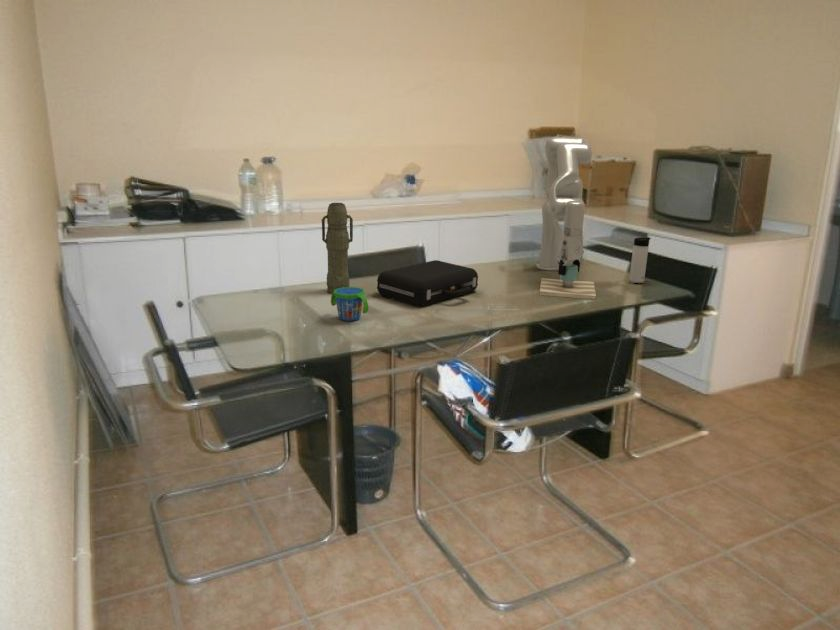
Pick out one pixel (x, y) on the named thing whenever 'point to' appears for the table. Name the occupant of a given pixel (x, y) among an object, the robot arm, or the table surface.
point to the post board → (567, 288)
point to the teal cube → (570, 273)
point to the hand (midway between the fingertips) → (568, 273)
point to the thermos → (337, 245)
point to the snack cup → (349, 302)
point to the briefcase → (427, 282)
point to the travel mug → (639, 260)
